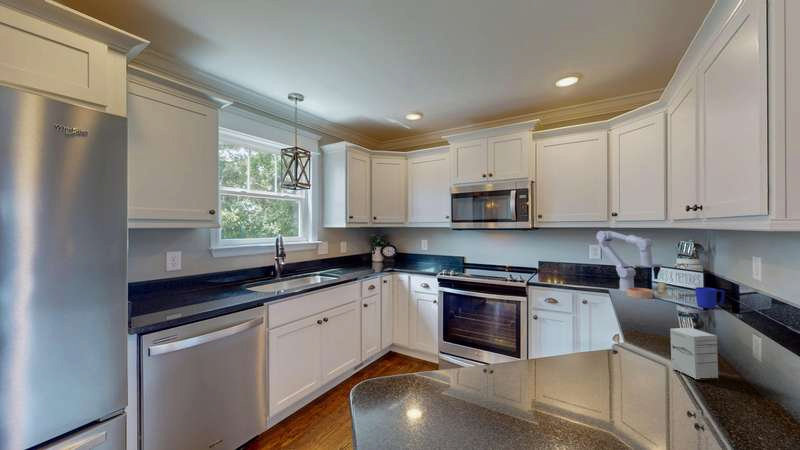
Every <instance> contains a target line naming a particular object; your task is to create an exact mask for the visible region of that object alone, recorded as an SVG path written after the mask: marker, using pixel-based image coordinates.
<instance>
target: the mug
mask: <svg viewBox="0 0 800 450" xmlns="http://www.w3.org/2000/svg"><path fill="white" fill-rule="evenodd" d="M694 292H695V293H694V294H695V297H696V304H697V307H699V308H701V309H708V310H710V309H711V310H713V309H715V308H716V307H717V306H720V305H722V304H723V303H724V301H725V290H722V289H717V288H713V287H703V286H702V287H701V286H695V287H694ZM719 292H721V297H720V301H719V302H718V303H717V294H718V293H719Z"/></svg>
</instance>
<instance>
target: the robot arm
mask: <svg viewBox="0 0 800 450" xmlns="http://www.w3.org/2000/svg"><path fill="white" fill-rule="evenodd" d="M613 239H619V240H622V241H625V242H626V243H627V244H629V245H634V246H636V247H638V249H639V256H640V257H639V258H640V264H632V267H631V266H630V265H629V264H628V263H626V262H624V260H623V259H622V258H621V257H620V256H619V254H617V252H616V251H615V250H614V249H613V247H612V246H611V242H612V240H613ZM596 240H597V241H598V246H599V248H600V249H601V250H602V251H603V252H604V254H605V255H606V256H607V257H608V259H609V260H610V261H611V262H612V263H613V264H614V265H615V267H616V268H615V270H616V272H617V275H618V277H619V278H620V279H619V288H618V290H619V291H621V292H626V293H627V288H635V281H634V279H635V276H636V275H638V277H639V279H640V280H643V274H642V273H643V269H644V268H651V267H652V270H653V277H654V279H655V280H658V276H659V273H660V271H661V268H663V267H662V266H663V265H662V264H661V263H654V264H653V254H652V246H653V241H652V240H651V239H649V238H644V237H642V236H636V235H635V234H629V235H625V234H622V233H619V232H616V231H611V230H604V231H603V230H599V231H597V233H596ZM636 273H637V274H636Z"/></svg>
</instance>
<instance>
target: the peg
mask: <svg viewBox="0 0 800 450" xmlns="http://www.w3.org/2000/svg"><path fill="white" fill-rule="evenodd" d="M667 290H668V289H667V282H660V281H659V282H657V291H658V294H661V295H667Z"/></svg>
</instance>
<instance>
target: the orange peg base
mask: <svg viewBox="0 0 800 450" xmlns="http://www.w3.org/2000/svg"><path fill="white" fill-rule="evenodd" d="M653 291H654V289H650V288H645V287H644V288H643V287H634V288H627V292H626V296H628V297H631V298H636V299H654V297H653Z"/></svg>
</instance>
